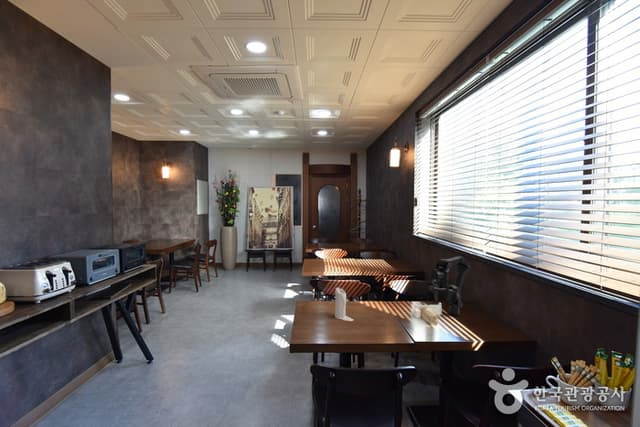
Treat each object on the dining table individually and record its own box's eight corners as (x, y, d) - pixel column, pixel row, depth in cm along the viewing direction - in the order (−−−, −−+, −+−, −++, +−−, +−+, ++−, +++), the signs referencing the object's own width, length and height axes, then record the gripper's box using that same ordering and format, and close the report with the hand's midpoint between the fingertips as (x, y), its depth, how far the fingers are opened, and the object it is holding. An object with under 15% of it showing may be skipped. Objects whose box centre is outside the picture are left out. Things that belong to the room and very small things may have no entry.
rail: (425, 316, 222) (425, 308, 222) (437, 324, 206) (437, 316, 206) (419, 316, 221) (419, 308, 221) (431, 324, 206) (431, 316, 206)
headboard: (440, 314, 227) (440, 302, 227) (444, 316, 221) (444, 304, 221) (412, 315, 223) (412, 303, 223) (416, 318, 217) (416, 305, 217)
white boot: (350, 322, 207) (351, 291, 207) (332, 317, 215) (333, 287, 215) (356, 319, 213) (356, 289, 212) (338, 314, 221) (339, 285, 221)
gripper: (449, 275, 227) (448, 297, 228) (424, 275, 224) (424, 297, 224) (458, 278, 216) (458, 301, 217) (433, 279, 213) (432, 302, 213)
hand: (442, 300), depth 218 cm, fingers open, 9 cm apart
